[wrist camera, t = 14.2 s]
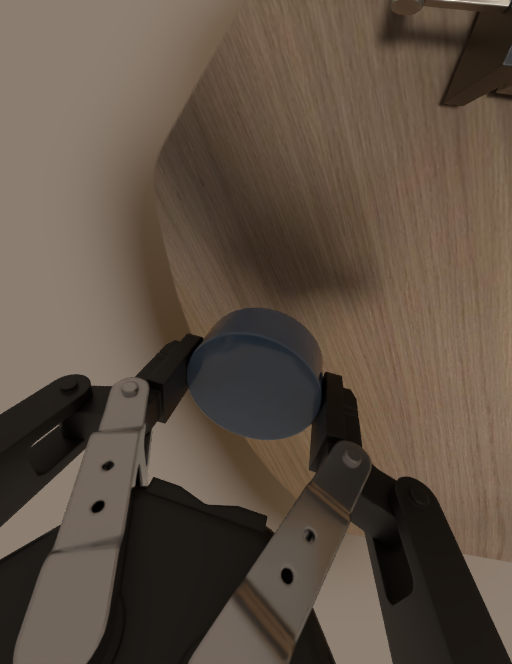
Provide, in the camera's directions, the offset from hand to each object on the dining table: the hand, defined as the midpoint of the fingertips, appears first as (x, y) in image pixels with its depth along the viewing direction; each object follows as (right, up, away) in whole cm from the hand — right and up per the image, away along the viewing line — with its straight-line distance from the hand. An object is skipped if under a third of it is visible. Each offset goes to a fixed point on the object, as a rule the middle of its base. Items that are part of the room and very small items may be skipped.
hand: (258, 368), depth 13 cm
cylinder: (0, 0, +1) cm, 1 cm away
